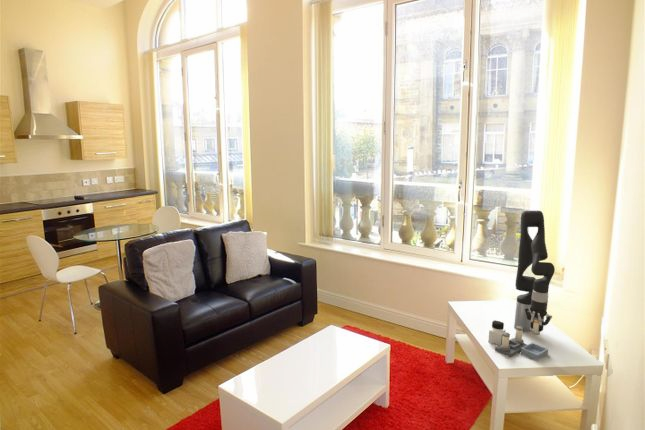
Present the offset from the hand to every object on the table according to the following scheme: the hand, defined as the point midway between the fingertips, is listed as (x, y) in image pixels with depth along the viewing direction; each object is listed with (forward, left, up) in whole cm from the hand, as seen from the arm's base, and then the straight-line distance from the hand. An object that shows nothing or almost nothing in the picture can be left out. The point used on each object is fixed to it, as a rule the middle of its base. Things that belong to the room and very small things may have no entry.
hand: (536, 329), depth 218 cm
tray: (0, 0, -14) cm, 14 cm away
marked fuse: (0, 0, -2) cm, 2 cm away
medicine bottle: (+3, -20, -14) cm, 25 cm away
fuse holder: (+5, -10, -14) cm, 18 cm away
